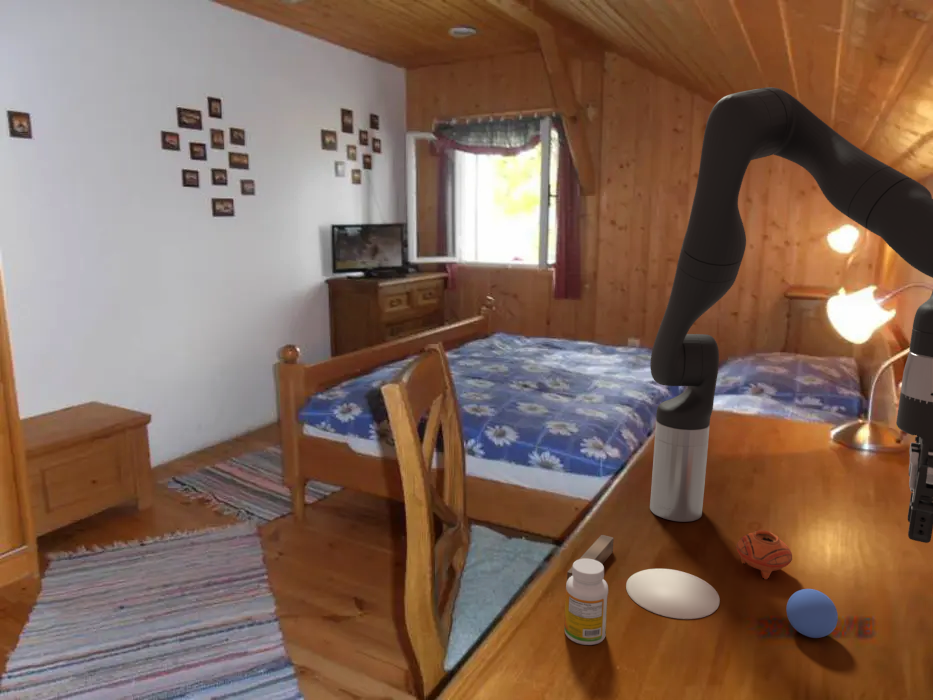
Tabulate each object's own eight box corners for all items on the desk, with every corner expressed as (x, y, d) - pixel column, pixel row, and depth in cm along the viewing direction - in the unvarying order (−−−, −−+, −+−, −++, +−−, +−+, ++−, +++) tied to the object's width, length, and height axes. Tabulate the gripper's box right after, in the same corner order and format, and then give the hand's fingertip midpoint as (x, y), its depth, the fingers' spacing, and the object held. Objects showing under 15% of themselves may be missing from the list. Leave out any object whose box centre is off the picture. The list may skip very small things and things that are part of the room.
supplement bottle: (577, 616, 93) (580, 551, 91) (613, 632, 90) (617, 564, 88) (556, 635, 89) (559, 566, 87) (592, 652, 86) (596, 581, 84)
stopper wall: (601, 548, 112) (601, 534, 111) (612, 551, 111) (613, 537, 110) (566, 587, 100) (567, 571, 100) (579, 591, 99) (580, 575, 99)
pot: (762, 551, 111) (774, 518, 108) (794, 586, 104) (808, 551, 102) (720, 555, 109) (731, 521, 106) (750, 591, 102) (763, 556, 99)
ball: (787, 615, 94) (792, 575, 93) (836, 629, 91) (842, 588, 90) (781, 637, 89) (786, 596, 88) (832, 653, 86) (838, 610, 85)
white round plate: (642, 561, 108) (642, 560, 108) (728, 585, 101) (728, 584, 101) (613, 600, 97) (613, 599, 97) (707, 630, 90) (707, 628, 90)
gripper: (900, 376, 86) (882, 503, 89) (901, 402, 74) (880, 548, 77) (974, 384, 82) (952, 517, 85) (987, 413, 70) (961, 566, 73)
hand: (918, 531), depth 81 cm, fingers open, 4 cm apart
